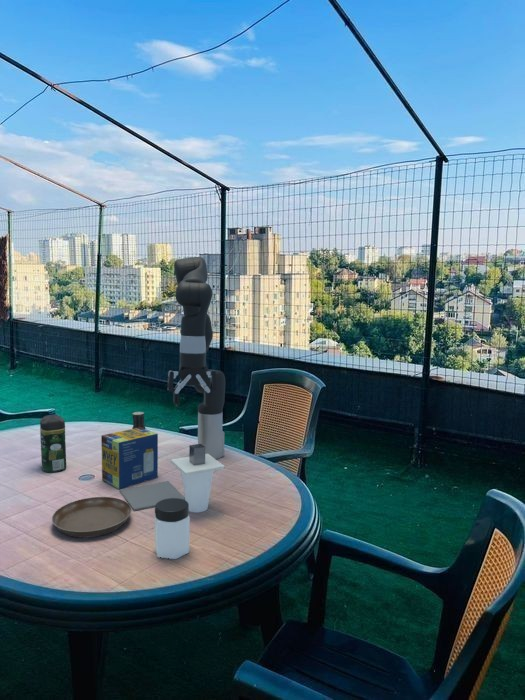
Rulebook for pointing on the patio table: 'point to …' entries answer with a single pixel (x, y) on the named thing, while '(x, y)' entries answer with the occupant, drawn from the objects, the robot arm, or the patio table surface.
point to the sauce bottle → (138, 420)
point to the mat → (149, 494)
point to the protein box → (129, 457)
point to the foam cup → (197, 490)
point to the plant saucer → (91, 516)
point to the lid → (197, 461)
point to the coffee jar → (53, 443)
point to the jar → (172, 528)
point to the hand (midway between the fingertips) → (191, 405)
